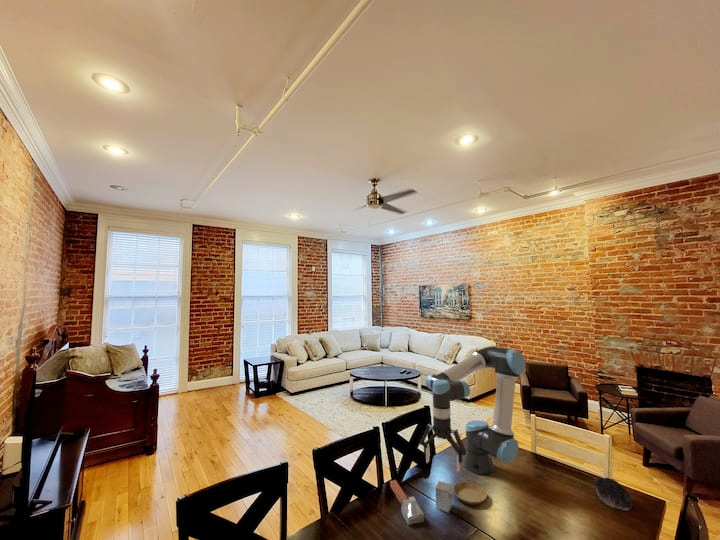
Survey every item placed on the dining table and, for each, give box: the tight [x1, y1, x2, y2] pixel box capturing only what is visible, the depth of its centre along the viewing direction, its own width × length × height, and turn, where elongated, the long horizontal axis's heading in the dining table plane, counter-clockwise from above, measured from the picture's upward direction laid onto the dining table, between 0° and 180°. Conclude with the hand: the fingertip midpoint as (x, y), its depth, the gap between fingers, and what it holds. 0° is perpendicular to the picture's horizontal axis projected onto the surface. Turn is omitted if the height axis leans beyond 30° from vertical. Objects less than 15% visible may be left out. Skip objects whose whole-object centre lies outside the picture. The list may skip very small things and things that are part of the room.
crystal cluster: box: [593, 476, 634, 511], centre depth 142 cm, size 13×14×10 cm
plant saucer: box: [452, 481, 488, 505], centre depth 145 cm, size 15×15×3 cm
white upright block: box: [435, 480, 453, 514], centre depth 139 cm, size 6×6×9 cm
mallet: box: [389, 479, 425, 526], centre depth 142 cm, size 26×7×8 cm, turn 15°
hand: (442, 465), depth 140 cm, fingers open, 13 cm apart
